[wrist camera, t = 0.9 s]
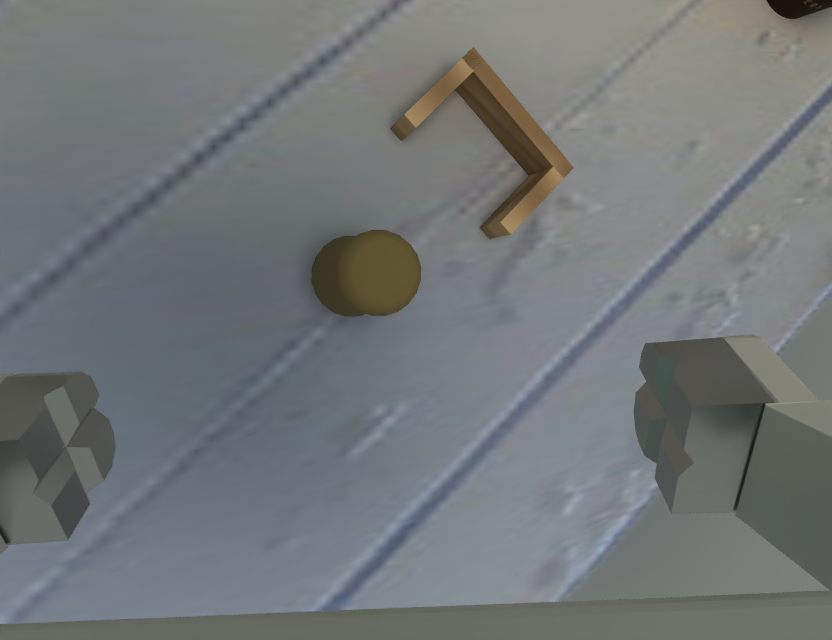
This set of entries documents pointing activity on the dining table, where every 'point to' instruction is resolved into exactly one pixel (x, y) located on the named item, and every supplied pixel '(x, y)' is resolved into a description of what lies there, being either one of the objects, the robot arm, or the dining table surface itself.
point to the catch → (498, 136)
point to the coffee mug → (798, 7)
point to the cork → (366, 274)
